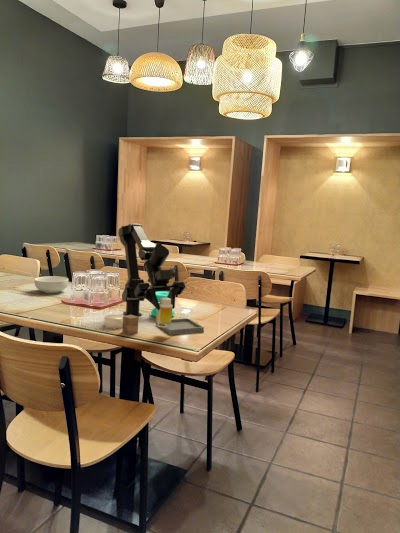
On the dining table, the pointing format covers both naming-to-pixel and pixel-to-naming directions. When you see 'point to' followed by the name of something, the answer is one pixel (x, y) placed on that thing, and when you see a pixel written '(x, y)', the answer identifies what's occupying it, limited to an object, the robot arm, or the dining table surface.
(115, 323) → the cream rounded block
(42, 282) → the cereal bowl
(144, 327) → the dining table surface
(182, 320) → the slate tray
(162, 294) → the donuts
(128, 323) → the walnut block
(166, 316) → the supplement bottle
